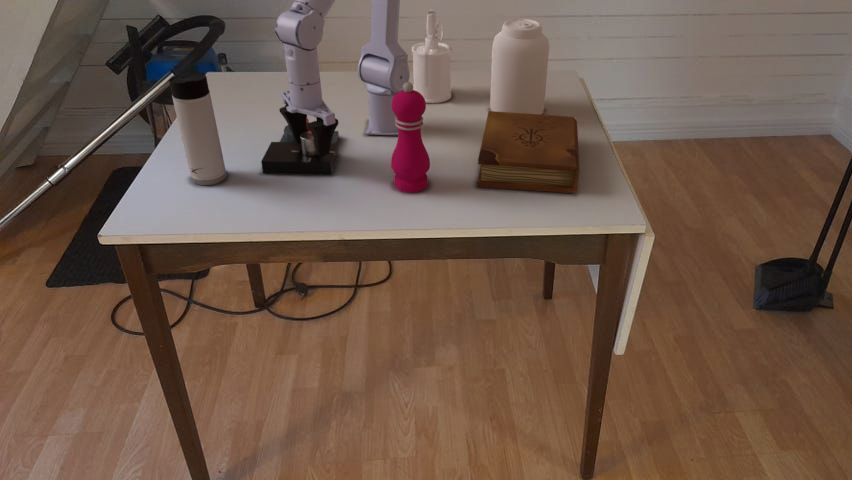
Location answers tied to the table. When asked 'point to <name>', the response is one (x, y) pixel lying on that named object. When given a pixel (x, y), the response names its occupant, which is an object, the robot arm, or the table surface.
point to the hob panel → (297, 160)
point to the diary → (529, 152)
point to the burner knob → (308, 144)
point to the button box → (289, 137)
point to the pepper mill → (409, 141)
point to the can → (519, 68)
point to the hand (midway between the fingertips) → (312, 147)
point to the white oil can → (432, 64)
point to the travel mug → (198, 128)
